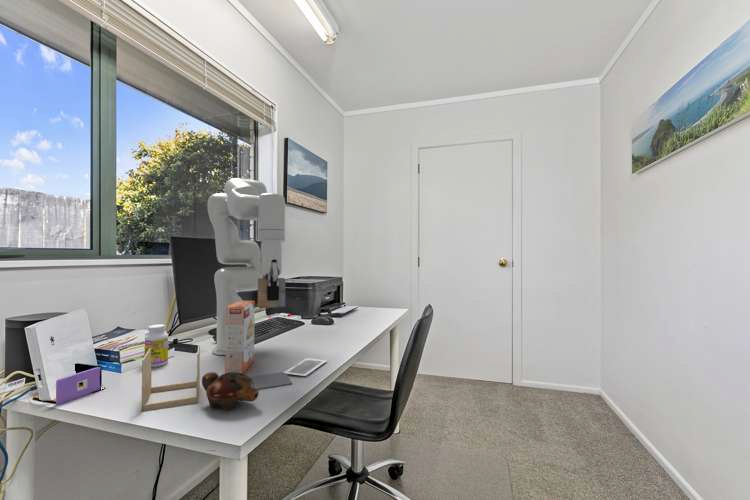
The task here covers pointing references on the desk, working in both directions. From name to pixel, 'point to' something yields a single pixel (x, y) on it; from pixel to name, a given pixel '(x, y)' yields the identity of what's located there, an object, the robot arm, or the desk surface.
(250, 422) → the desk surface
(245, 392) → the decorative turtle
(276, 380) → the rubber mat
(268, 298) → the robot arm
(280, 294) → the box
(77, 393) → the toy room diorama
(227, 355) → the cracker box
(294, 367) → the touchpad
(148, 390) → the wooden rack
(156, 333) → the supplement bottle
